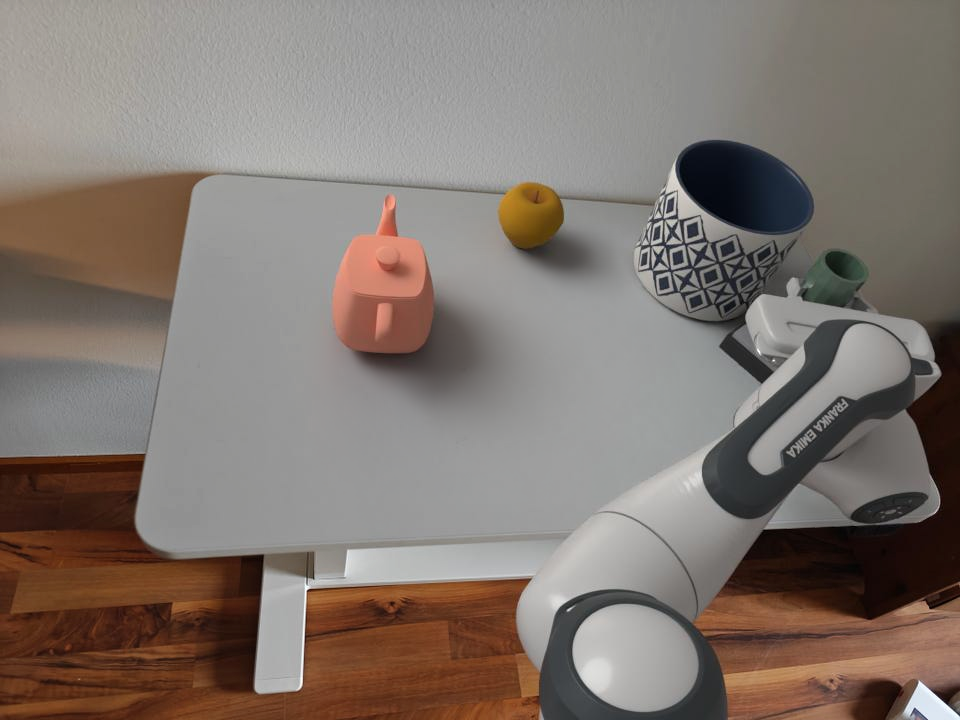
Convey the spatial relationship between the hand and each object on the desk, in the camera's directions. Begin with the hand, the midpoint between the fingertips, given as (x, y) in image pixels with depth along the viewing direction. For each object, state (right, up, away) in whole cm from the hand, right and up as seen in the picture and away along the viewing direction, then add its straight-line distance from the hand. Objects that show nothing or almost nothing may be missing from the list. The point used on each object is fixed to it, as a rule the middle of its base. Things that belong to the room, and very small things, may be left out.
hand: (823, 286), depth 87 cm
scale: (-2, -8, +9) cm, 13 cm away
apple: (-35, +8, +15) cm, 39 cm away
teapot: (-53, -4, +2) cm, 53 cm away
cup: (-1, -4, +4) cm, 6 cm away
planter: (-11, +3, +17) cm, 20 cm away
